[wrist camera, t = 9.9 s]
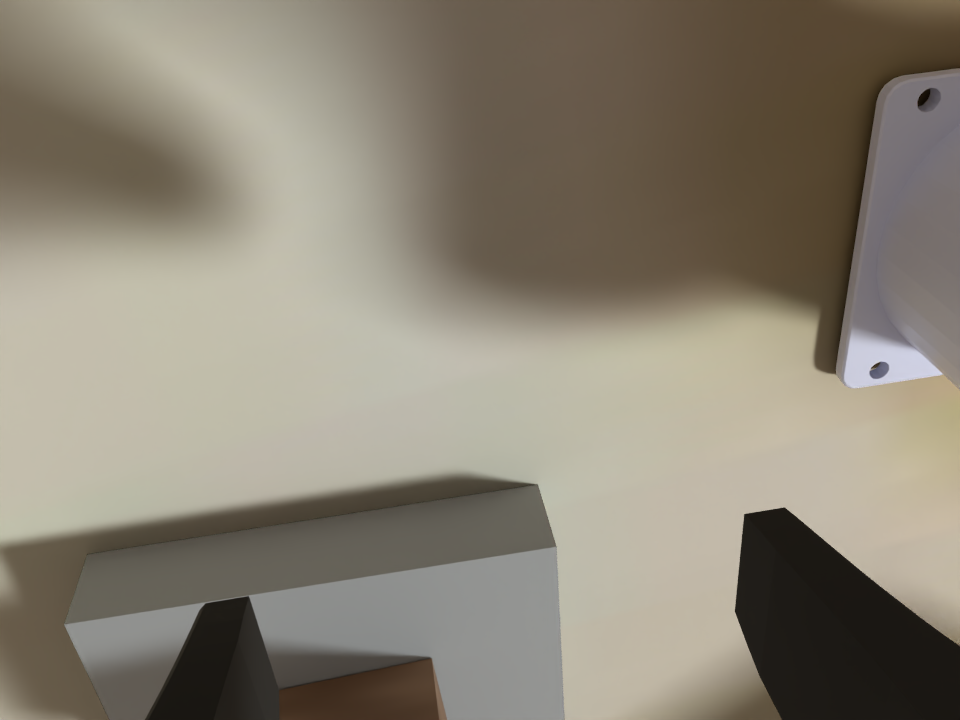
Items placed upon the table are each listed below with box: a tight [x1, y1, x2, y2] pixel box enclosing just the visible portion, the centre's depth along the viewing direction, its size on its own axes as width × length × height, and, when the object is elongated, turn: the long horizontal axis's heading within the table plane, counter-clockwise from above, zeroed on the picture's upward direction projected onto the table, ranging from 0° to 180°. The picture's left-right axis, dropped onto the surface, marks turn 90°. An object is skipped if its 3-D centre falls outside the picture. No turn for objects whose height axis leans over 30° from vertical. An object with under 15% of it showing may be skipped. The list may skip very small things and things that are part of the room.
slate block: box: [64, 485, 565, 720], centre depth 26 cm, size 12×12×3 cm
